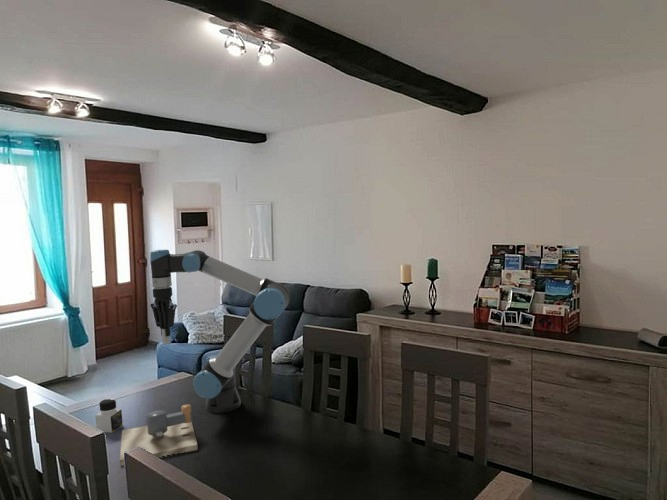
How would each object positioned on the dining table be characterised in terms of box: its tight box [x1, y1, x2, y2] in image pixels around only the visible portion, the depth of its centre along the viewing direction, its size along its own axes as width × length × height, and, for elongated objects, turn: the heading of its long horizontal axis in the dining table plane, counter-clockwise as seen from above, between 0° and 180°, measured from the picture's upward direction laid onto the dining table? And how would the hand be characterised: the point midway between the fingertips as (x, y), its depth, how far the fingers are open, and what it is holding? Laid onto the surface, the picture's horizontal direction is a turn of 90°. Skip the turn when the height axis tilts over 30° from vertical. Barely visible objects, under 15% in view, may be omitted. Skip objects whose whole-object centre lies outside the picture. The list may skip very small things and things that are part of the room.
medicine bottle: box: [95, 398, 124, 434], centre depth 204 cm, size 7×7×12 cm
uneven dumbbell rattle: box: [146, 403, 193, 436], centre depth 192 cm, size 10×16×7 cm, turn 118°
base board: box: [119, 421, 198, 467], centre depth 190 cm, size 26×26×4 cm
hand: (166, 343), depth 208 cm, fingers closed
